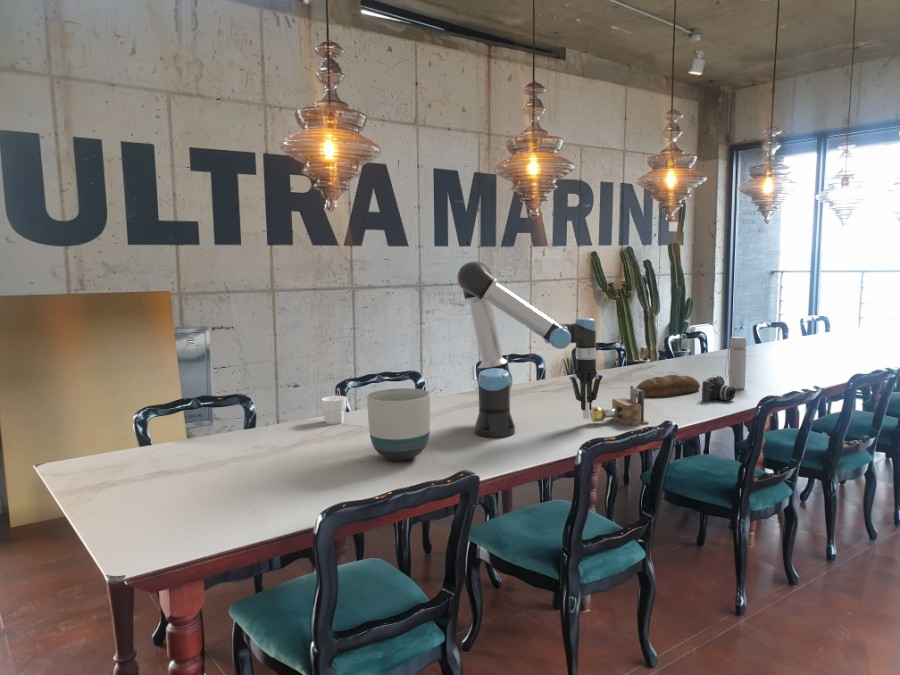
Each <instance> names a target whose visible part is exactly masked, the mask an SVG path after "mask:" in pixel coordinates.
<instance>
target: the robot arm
mask: <svg viewBox="0 0 900 675" xmlns="http://www.w3.org/2000/svg"><path fill="white" fill-rule="evenodd" d="M457 283H458V286H460V289H462V292H463V297H464V301H466V302H468V303H469V307H470V311H471V317H472V322H473V326H474V331H475V337H476V341H477V346H478V351H479V357H480V364H479V365H478V369H479V370H478V371H479V374H478V379H477V383H478V415H477V418H476V422H475V425H474V434H476V435H477V436H480V437H483V438H495V439H497V438H504V437H505V438H506V437H509V436H512V435H514V434H515V433H516V427H515V422H514V419H513V417H512V414H511V399H510V398H511V396H510V395H511V394H510V392H511V388H512V386H513V375H512V373H511V372H510V366H509V361H508V360H507V359H505V358H504V357H503V351H502V346H501V341H500V337H499V332H498V331H499V330H498V327H497V322H496V318H495V312H494V307H493V306H495V308H497V309H499V310H501V312H503V313H505V314H506V315H508V316H510V317H511V318H512V319H514V320H515V321H517V322H518V323H520V324H521V325H523V326H524V327H526V328H527V329H529V330H530V331H532V332H533V333H535V334H537V335H538V336H539V337H541V338H542V339H544V342H545V343H546V344H550V345H551V346H552V347H553V348H555V349H558V350H564V349H566V348H568V346H569V345H570V344H575V358H576V359H575V373H574V374H573V375H572V376H569V380H570V381H571V384H572V389H573V392H574V395H575V396H574V397H575V400H576V401H579V402H580V409H581V410H582V418H583V419H585V420H589V419H590V410H591V408H592V403H593V401H595V400H597V398H598V392H599V388H600V384H601V381H602V379H603V375H601V374H599V373H598V372H597V369H596V368H597V359H596V357H597V348H596V347H597V346H596V345H597V341H596V340H597V329H596V326H597V325H596V319H595V318H593V317H579V318H576V319H575V322H574V323H558V322H557V321H555V320H553V319H551V317H549V316H547V315H546V314H544V313H543V312H541V311H540V310H538V309H537V308H535V307H534V306H533V305H531V304H529V303H528V302H527V301H525V300H524V299H522V298H521V297H519V296H518V295H516V294H515V293H514V292H512V291H511V290H509V289H508V288H506V287H504V286H503V285H502V284H500V283H499V282H498V280H497V278H496V277H494V276H493V275H492V272H491V270H490V268H489V267H488V266H487V265H486V264H484V263H483V262H480V261H471V262H470V261H469V262H466V263H465V264H463V265H462V266H461V267H460V268H459V269H458V272H457ZM578 381H579V384H578ZM593 381H594V382H593Z"/></svg>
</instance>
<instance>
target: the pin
mask: <svg viewBox="0 0 900 675" xmlns="http://www.w3.org/2000/svg"><path fill="white" fill-rule="evenodd" d="M612 417H622V408H621V409H612V408H610V409H604V408H603V407H602V406H595V407H592V406H591V410H589V418H590V420H591V421H592V423H597V422H598V423H599V422H604V420H605V419H607V418H612Z"/></svg>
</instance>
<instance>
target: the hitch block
mask: <svg viewBox="0 0 900 675" xmlns="http://www.w3.org/2000/svg"><path fill="white" fill-rule="evenodd" d="M631 388H634V386H633V385H630V388H629V389H630V391H629V392H630V393H629V396H630V397H629V398H628V397H621V398H620V397H618V398H612V401H611V402H612V407H611V409H621V408H622V417H611V418H612V419H614V421H616V422H618V423H621V424H622V425H625V426H626V425H629V426H641V425H648V424H649V421H648V420H645V419H644V416H645V413H644V412H645V409H644V408H645V397H644V390H641V404H639V403H637V401H636V402H635V401H632V400H631Z"/></svg>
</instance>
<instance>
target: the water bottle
mask: <svg viewBox="0 0 900 675" xmlns="http://www.w3.org/2000/svg"><path fill="white" fill-rule="evenodd" d="M746 338H747V337H745V336H731V337H730V341H729V346H728V347H727V355H726V359H727V361H726V363H725V366H727V363H728V374H727V375H728V376H726V373H724V376H725V378H726V379H728V386H731V387H733V388H734V389H735V390H744V389H745V387H746V370H747V369H746V367H747V366H746V365H747V364H746V363H747V340H746ZM726 370H727V367H725V369H724V372H727V371H726Z"/></svg>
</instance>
